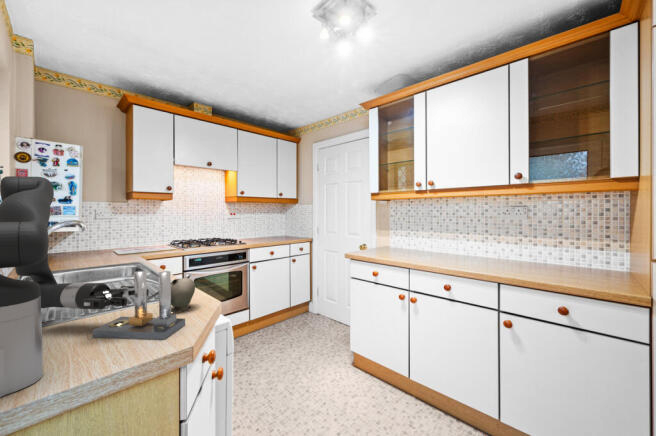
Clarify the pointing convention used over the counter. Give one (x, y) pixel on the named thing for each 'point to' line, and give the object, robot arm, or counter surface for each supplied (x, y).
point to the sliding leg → (140, 300)
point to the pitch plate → (151, 330)
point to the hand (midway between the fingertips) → (137, 297)
